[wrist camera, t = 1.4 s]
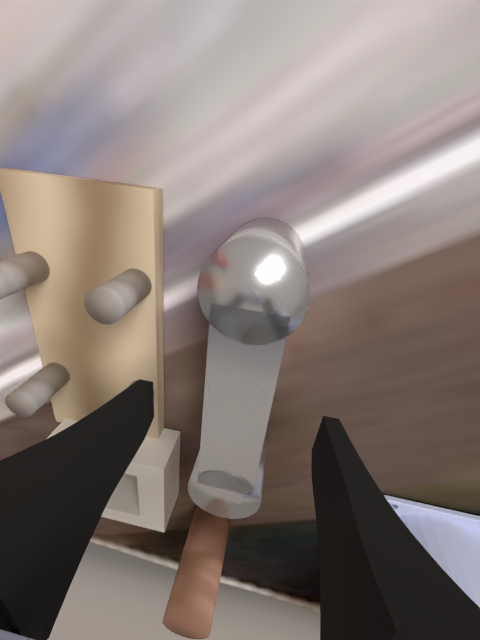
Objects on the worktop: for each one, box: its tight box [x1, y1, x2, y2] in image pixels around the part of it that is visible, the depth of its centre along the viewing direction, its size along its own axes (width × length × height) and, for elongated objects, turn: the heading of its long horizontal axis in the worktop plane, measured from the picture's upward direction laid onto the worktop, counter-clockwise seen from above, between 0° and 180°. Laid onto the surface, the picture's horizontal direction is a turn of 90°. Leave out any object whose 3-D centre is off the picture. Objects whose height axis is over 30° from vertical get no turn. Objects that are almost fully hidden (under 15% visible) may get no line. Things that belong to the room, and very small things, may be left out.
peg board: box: [0, 168, 164, 439], centre depth 16 cm, size 8×16×4 cm, turn 173°
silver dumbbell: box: [188, 218, 310, 519], centre depth 15 cm, size 15×4×5 cm, turn 173°
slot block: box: [47, 418, 181, 532], centre depth 21 cm, size 8×7×3 cm
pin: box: [163, 506, 231, 639], centre depth 21 cm, size 3×3×7 cm
